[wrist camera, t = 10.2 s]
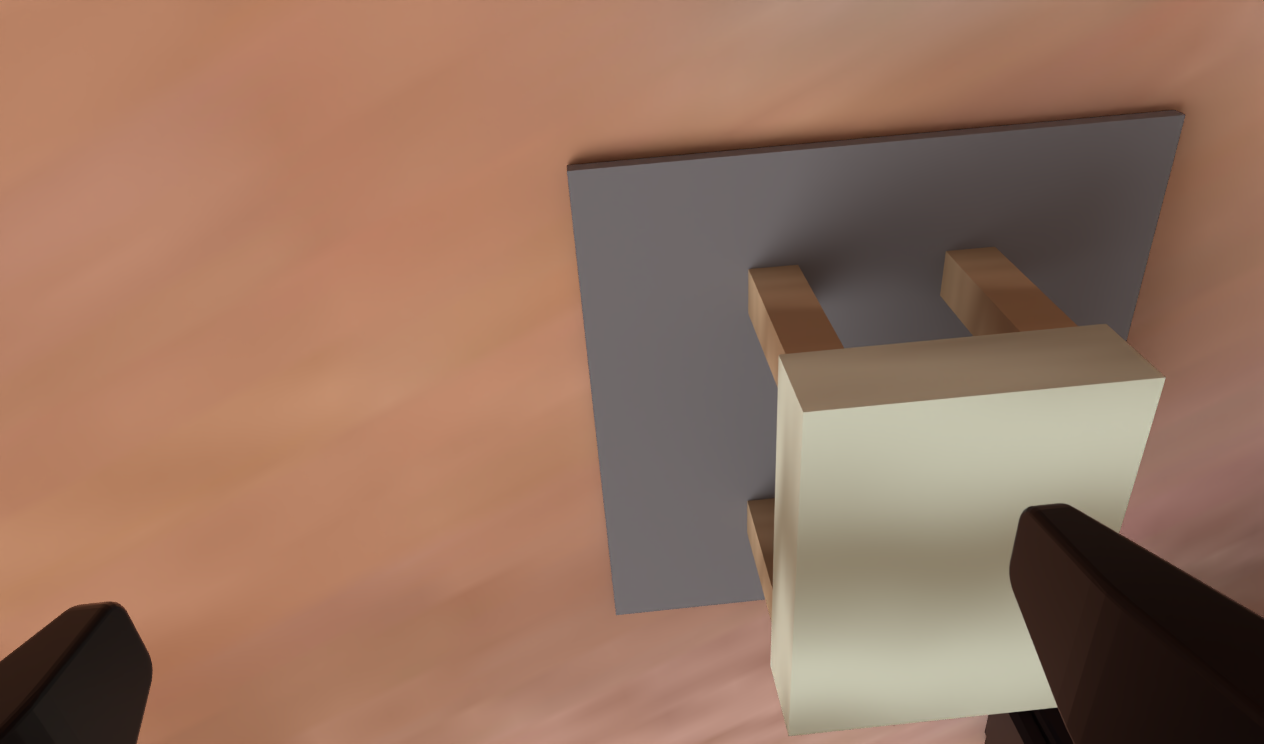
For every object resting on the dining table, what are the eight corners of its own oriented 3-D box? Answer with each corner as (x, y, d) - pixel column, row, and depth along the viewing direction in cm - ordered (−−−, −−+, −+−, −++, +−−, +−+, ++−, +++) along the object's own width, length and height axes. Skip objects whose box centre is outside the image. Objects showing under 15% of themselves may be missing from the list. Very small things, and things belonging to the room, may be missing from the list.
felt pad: (1174, 109, 20) (1185, 114, 20) (1061, 558, 28) (1067, 567, 27) (567, 165, 20) (567, 171, 20) (615, 605, 27) (616, 615, 27)
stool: (958, 519, 26) (1067, 706, 20) (738, 541, 26) (788, 736, 20) (1007, 234, 21) (1165, 377, 16) (738, 258, 21) (803, 412, 16)
